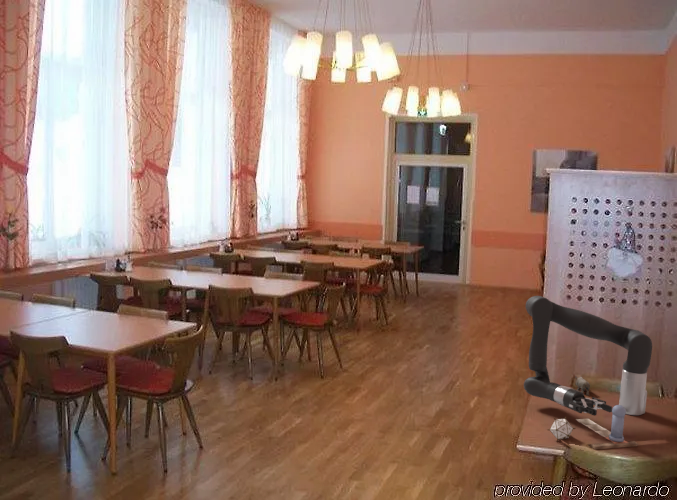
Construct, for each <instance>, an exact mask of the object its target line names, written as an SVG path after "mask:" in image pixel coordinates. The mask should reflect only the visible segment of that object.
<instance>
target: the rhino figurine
mask: <svg viewBox="0 0 677 500" xmlns="http://www.w3.org/2000/svg"><path fill="white" fill-rule="evenodd" d="M575 386H576V387H577V389H576V390H577V391H580V392H582V393H583V394H584V392H586V393H585V395H586V396H587V397H588V396H590V388H591V384H590V382H589V381H587V380H586V379H584V378H583V377H582V376H579V377H577V376H575Z"/></svg>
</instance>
